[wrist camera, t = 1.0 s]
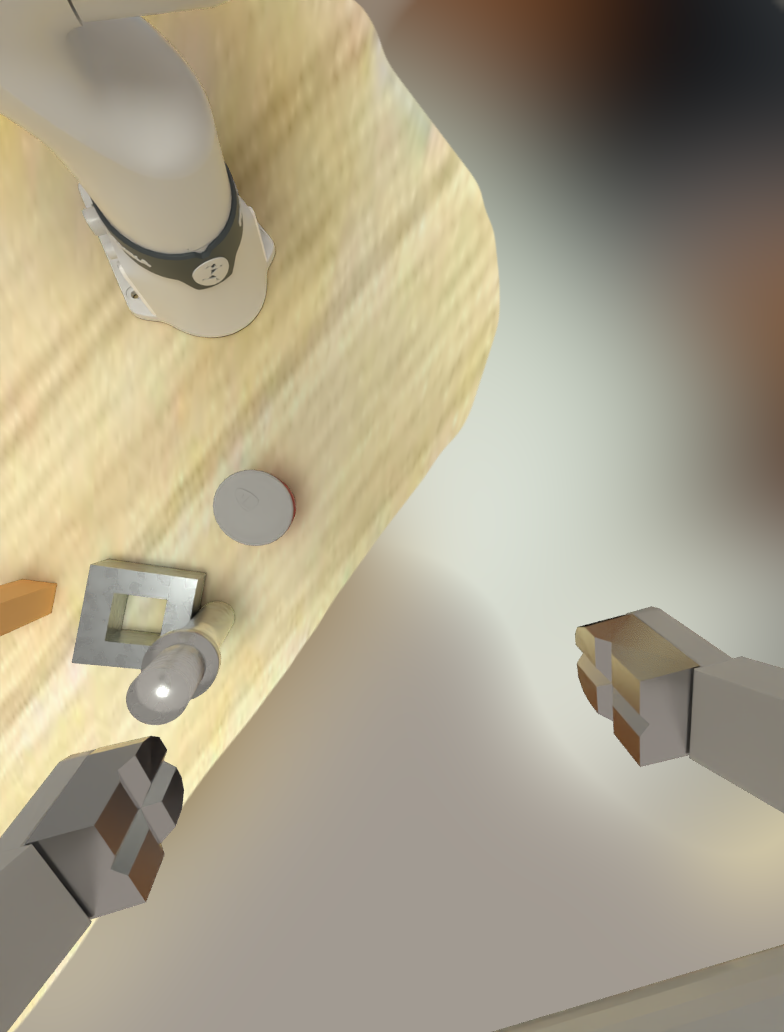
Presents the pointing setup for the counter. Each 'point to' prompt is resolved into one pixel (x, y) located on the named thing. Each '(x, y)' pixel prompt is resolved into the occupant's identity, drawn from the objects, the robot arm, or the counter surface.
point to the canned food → (254, 507)
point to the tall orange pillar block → (24, 603)
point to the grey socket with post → (153, 635)
